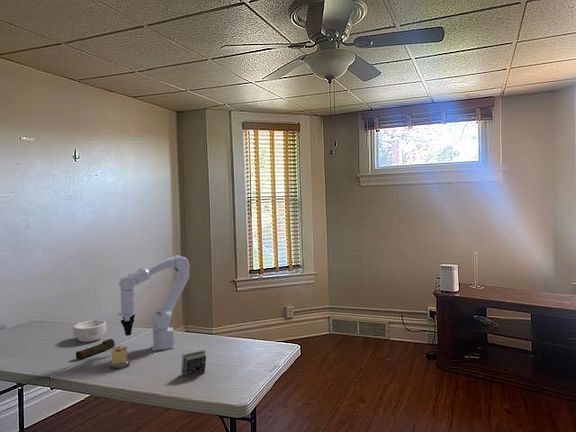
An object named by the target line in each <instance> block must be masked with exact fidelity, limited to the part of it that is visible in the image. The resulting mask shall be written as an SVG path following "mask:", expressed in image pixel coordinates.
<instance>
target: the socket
mask: <svg viewBox="0 0 576 432" xmlns="http://www.w3.org/2000/svg"><path fill="white" fill-rule="evenodd" d="M127 359H128V346H123V345H118V346H115V347H113V348H112V350H111V361H112V365H113V364H121V363H127Z"/></svg>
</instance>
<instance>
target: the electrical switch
mask: <svg viewBox="0 0 576 432" xmlns="http://www.w3.org/2000/svg"><path fill="white" fill-rule="evenodd" d="M206 361H207V355H206V350H205V349H204V348H203V349H198V350H193V351H189V352H184V353H183V354H182V355H181V368H180V369H181V370H180V373H181V375H182V376H183V375H184V376H185V377H186V378H187V377H189V378H190V377H193V376H197V375H201V374H204V373H205V371H206Z"/></svg>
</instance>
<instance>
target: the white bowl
mask: <svg viewBox="0 0 576 432" xmlns="http://www.w3.org/2000/svg"><path fill="white" fill-rule="evenodd" d="M72 329H73V330H72V331H73V337H75V338H77V339H78V340H79V342H82V343H89V342H90V343H91V342H93V341H94V342H95V341H98V340H100V339H101V338H102V337H103V334H105V333H106V332H107V321H105V320H102V319H93V320H92V319H91V320H86V321H82V322H78V323H76V324H73V326H72Z"/></svg>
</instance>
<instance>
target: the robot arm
mask: <svg viewBox="0 0 576 432" xmlns="http://www.w3.org/2000/svg"><path fill="white" fill-rule="evenodd" d="M190 267H191V264H190V261H189V260H188V258H187V257H185V256H181V255H179V254H176V255H173V256H170V257H168V258H166V259H164V260H162V261H160V262H158V263H156V264H154V265H153V266H151V267H149V268H145V267H143V268H142V267H140V268H138V270H136V271H134V272H132V273H128V275H125V276H122V277H121V278H120V279H119V282H118V285H119V287H120V312H118V316H121V317H122V318H123V319H121V320H120V323H121V324H122V327H123V330H124V334H125V336H126V337H127V336H131V334H132V331H133V324H134V322H135V318H136V317H135V316H136V310H135V309H136V308H135V307H136V306H135V292H134V288H135V287H136V286H138V285H140V284H142V283H144V282H145V281H148V280H150V278H151V276H152V275H155V274H157V273H159V272H161V271H163V270H166V269H174V270H175V273H176V276H177V277H176V279H175V281H174V283H173V284H172V287H171V289H170V290H169V292H168V294H167V296H166V297H165V300H164V302H163V304H162V305H161V307H159V308H158V310H157V312H156V313H154V314H153V315H152V317H151V323H152V325H153V327H152V343H153V344H152V351H153V352H155V351H161V350H170V349H175V337H174V327H169V326H170V320H171V319H172V311H173V310H174V308H175V306H176V305H177V302H178V300H179V298H180V296H181V295H182V293H183V290H184V289H185V287H186V285H187V283H188V281H189V279H190Z"/></svg>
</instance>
